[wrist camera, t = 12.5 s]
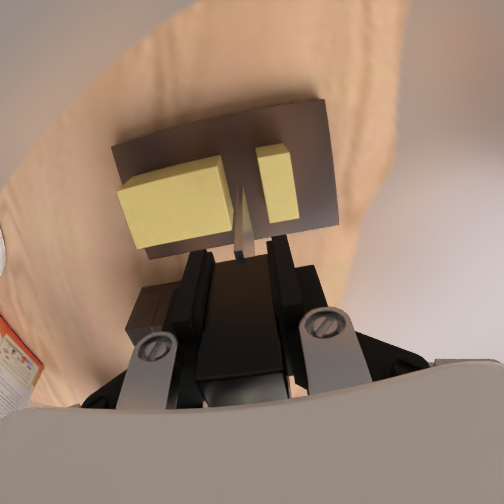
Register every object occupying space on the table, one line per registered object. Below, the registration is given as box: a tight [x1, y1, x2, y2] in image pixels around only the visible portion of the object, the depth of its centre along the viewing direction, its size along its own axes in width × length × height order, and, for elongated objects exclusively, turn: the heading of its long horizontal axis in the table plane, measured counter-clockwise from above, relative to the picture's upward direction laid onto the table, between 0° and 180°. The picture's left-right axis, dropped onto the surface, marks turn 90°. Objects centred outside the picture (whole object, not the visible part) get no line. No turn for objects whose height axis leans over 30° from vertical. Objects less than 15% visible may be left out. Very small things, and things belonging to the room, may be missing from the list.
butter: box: [116, 155, 234, 249], centre depth 22 cm, size 7×4×4 cm, turn 101°
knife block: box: [125, 281, 182, 346], centre depth 28 cm, size 7×9×6 cm
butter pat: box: [255, 143, 299, 223], centre depth 21 cm, size 2×4×4 cm, turn 11°
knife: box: [194, 187, 292, 408], centre depth 12 cm, size 2×3×12 cm, turn 11°
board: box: [111, 99, 339, 260], centre depth 24 cm, size 16×10×2 cm, turn 101°
